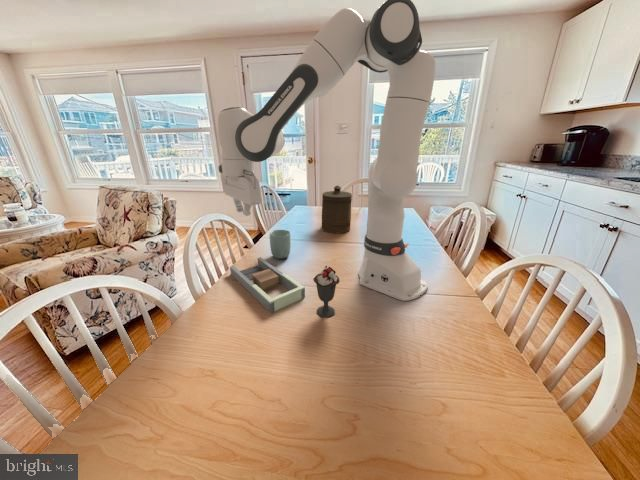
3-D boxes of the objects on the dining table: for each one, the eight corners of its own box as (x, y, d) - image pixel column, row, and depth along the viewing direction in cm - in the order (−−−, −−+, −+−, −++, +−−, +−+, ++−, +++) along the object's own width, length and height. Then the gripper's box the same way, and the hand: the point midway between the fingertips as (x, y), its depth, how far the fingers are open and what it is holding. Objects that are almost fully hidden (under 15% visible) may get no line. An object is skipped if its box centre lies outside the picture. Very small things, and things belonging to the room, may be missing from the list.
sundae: (320, 323, 65) (321, 270, 59) (309, 308, 70) (308, 259, 65) (342, 315, 67) (345, 265, 62) (330, 301, 73) (331, 254, 67)
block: (278, 287, 80) (278, 276, 79) (261, 293, 77) (260, 282, 75) (270, 279, 85) (269, 268, 83) (253, 285, 81) (252, 274, 80)
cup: (287, 262, 96) (286, 237, 92) (268, 260, 98) (266, 235, 94) (293, 253, 103) (292, 230, 100) (275, 251, 105) (273, 228, 101)
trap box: (304, 297, 75) (304, 287, 74) (270, 313, 68) (269, 302, 67) (261, 264, 94) (260, 256, 93) (231, 274, 87) (229, 265, 86)
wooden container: (352, 225, 137) (354, 184, 129) (347, 234, 124) (349, 189, 116) (325, 223, 141) (326, 182, 132) (318, 231, 127) (318, 187, 119)
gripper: (265, 171, 70) (268, 219, 76) (235, 165, 85) (239, 205, 90) (243, 173, 67) (248, 223, 72) (215, 166, 81) (221, 208, 86)
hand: (243, 213), depth 81 cm, fingers open, 4 cm apart
